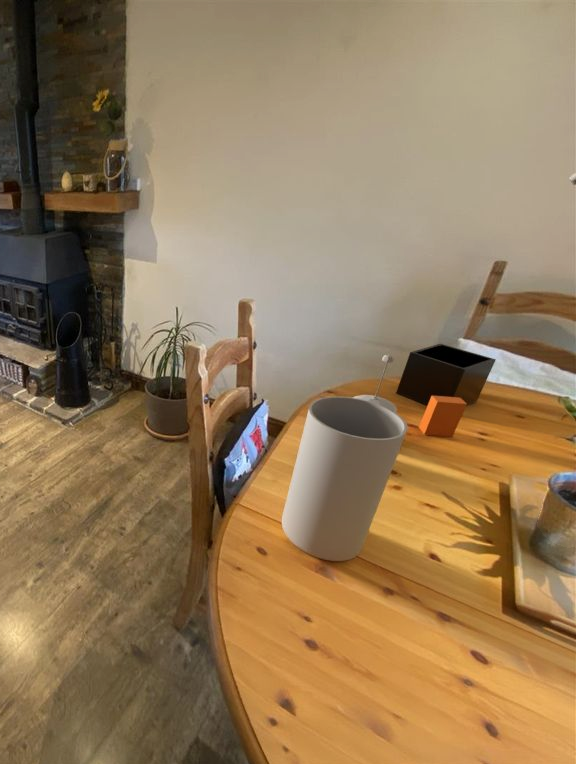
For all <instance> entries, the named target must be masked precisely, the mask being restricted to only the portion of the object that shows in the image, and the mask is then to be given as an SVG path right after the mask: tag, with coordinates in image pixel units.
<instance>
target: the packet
mask: <svg viewBox="0 0 576 764" xmlns="http://www.w3.org/2000/svg"><path fill="white" fill-rule="evenodd" d="M466 405H467V404H466V403H465V402H464V401H463V400H462V399H461V398H458V397H445V396H431V398H430V401H429V404H428V406H426V409H425V410H424V413H423V415H422V419H421V421H420V424H419V425H418V428H419V430H420V431H421V432H422V433H423V435H428V436H438V437H439V436H440V437H449V438H453V436H454V434H455V432H456V429H457V428H458V426H459V424H460V421H461V418H462V417H463V414H464V412H465V410H466V407H467V406H466Z"/></svg>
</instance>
